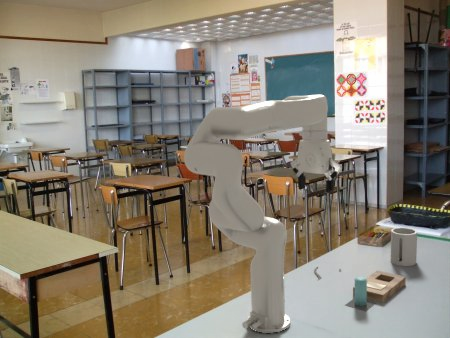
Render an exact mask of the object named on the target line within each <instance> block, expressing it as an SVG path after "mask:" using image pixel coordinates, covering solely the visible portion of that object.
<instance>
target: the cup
mask: <svg viewBox="0 0 450 338" xmlns="http://www.w3.org/2000/svg"><path fill="white" fill-rule="evenodd" d="M417 244H418V231H417V230H416V229H414V228H409V227H394V228H391V231H390V262H391V263H392V264H393V265H396V266H400V267H411V266H412V267H413V266H414V265H416V264H417V252H418V251H417V250H418V249H417V248H418V245H417ZM400 259H401V260H400Z"/></svg>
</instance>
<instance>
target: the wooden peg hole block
mask: <svg viewBox="0 0 450 338" xmlns="http://www.w3.org/2000/svg"><path fill="white" fill-rule="evenodd" d="M365 278H366V279H367V299H368V300H370V301H371V300H372V301H375V302H379V303H385V302H386V301H387V300H388V299H389V298H391V297H392V296H393V295H394V294H395V293H396V292H398V291H399V290H400V289H401V288H405V286H406V282H407V280H406V276H403V275H399V274H395V273H389V272H387V271H381V270H376V271H374V272H373V273H372V274H370V275H368V276H367V277H365ZM352 295H353V296H355V286H353V288H352Z"/></svg>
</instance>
